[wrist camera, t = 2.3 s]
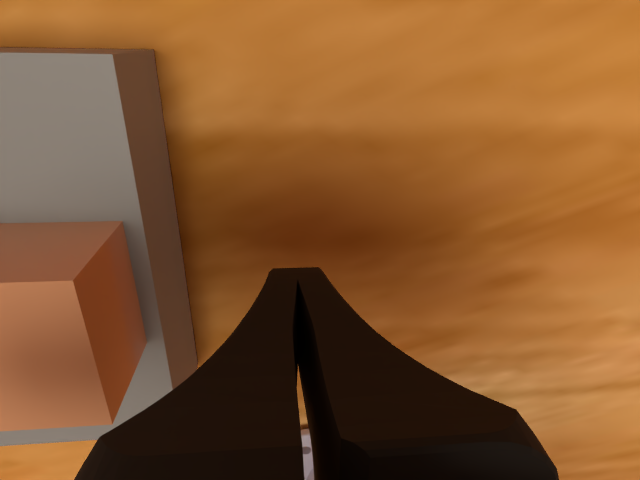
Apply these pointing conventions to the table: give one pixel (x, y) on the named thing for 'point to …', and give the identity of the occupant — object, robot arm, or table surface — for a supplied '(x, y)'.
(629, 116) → the table surface
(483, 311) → the table surface
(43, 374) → the orange brown block
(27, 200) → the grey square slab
